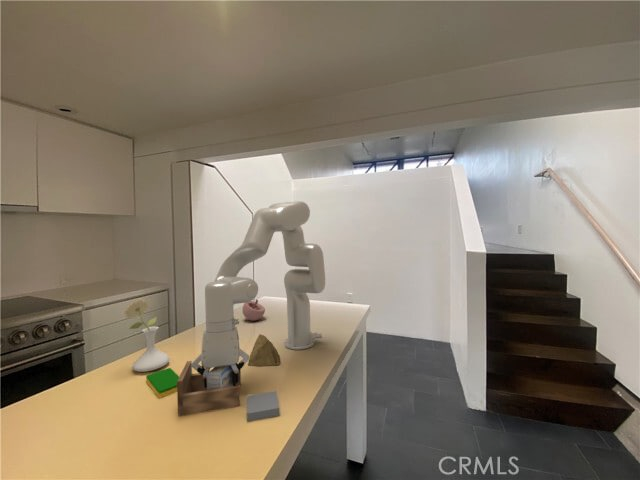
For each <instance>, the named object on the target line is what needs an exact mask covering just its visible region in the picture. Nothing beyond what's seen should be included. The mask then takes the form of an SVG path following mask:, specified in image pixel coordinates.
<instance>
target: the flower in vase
mask: <svg viewBox="0 0 640 480" xmlns="http://www.w3.org/2000/svg"><path fill="white" fill-rule="evenodd" d="M148 301H149V300H147V299H144V298H139V299H138V300H136V299H135V300H134V301H133V302H131V303H130V304H129V305H128V306H126V309H125V310H124V313H123V314H124V315H125V319H127V318H128V319H130V318H131V319H134V318H137V317H140V320H141V322H139V321H138V322H135V323H134V324H132V325H131V326H130V327H129V330H135V329H139V328H140V327H141V326H142V325H144V326H145V328H143V329H141V332H142V333H144V335H145V338H146V344H147V345H146V349H145V351H144V352H143V353H142V354H141V355H140V356H139V357H138V358H137V359H136V360H135V361H134V362H133V364H132V366H131V368H132V370H134V371H135V372H139V373H141V372H143V373H145V372H151V371H154V370H158V369H160V368H162V367H164V366H165V365H167V364H168V363H169V362H170V356H169V355H168V354H166V353H165V352H163V351H161V350H159V349H157V348H156V345H155V339H156V337H155V336H156V333H157V331H158V329H159V326H155V325H154V324H155V323H156V321H157V316H155V317H153V318H151V319H150V320H148V321H147V323H145V322H144V320H143V317H142V314H144V313H145V312H146V311H147V309H148V308H149V302H148ZM152 325H154V326H152Z"/></svg>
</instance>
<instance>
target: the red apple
mask: <svg viewBox="0 0 640 480" xmlns="http://www.w3.org/2000/svg"><path fill="white" fill-rule="evenodd" d="M258 302H259V299H255V301H253V300H251V301H250V302H246V303H243V306H242V314H243V317H245V319H246V320H248V321H250V322H255V321H259V320H260V319H262V317H263V316H264V315H265V312H266V308H265V307H264V306H263V305H262V304H260V303H258Z"/></svg>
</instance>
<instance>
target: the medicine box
mask: <svg viewBox="0 0 640 480" xmlns="http://www.w3.org/2000/svg"><path fill="white" fill-rule="evenodd" d="M231 386H233V369H232V367H231V365H228V366H221V367H213V368H211V369H210V371H209V372H208V373H207V390H211V389H218V388H225V387H231Z"/></svg>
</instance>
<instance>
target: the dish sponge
mask: <svg viewBox="0 0 640 480" xmlns="http://www.w3.org/2000/svg"><path fill="white" fill-rule="evenodd" d="M145 376H146V379H145V380H146V383H147V384H148V386H149V387H150V389H151V390H152V391H153V393H154V394H155V395H156V397H157V398H158V399H161V398H164V397H167V396H169V395H172V394H175V393H177V381H178V379H179V377H180V375H178V374H177V373H176V372H175V371H174V370H173V369H172V368H171V367H167V368H165V369H162V370H159V371H157V372H152V373H150V374H147V375H145Z"/></svg>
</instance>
